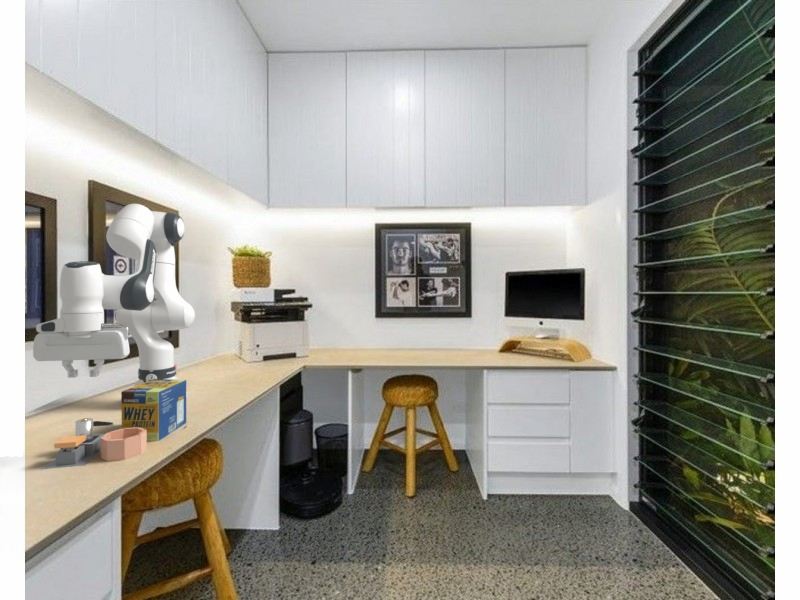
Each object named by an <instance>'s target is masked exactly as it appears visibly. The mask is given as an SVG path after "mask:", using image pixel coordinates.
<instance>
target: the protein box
mask: <svg viewBox="0 0 800 600" xmlns="http://www.w3.org/2000/svg"><path fill="white" fill-rule="evenodd" d="M186 392H187V379H179V380H176V379H153V380H150V381H148V382H145V383H142V384H140V385H137V386H135V387H134V386H133V387H130V388H128V389H125V390H122V391H121V395H120V396H121V398H120V399H121V403H120V404H121V429H122V428H134V427H140V428H143V429H146V430H147V442H159V441H161V440H162V439H164V438H166V437H167V436H168V435H171V433H173V432H175V431H176V430H177V429H179V428H180V427H182V426H183V425H185V424H186V423H187V399H186ZM186 428H187V425H185V426H184V427H183V429H182V430H184V429H186Z"/></svg>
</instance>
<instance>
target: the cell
mask: <svg viewBox="0 0 800 600" xmlns="http://www.w3.org/2000/svg"><path fill="white" fill-rule="evenodd" d="M93 422H94V418H91V417H90V418H89V417H88V418H87V417H85V418H80V419H78V420H76V421H75V436H84V435H86V440H85V441H84V442H82V443H89V442H92V441H93V434H94V426H93Z"/></svg>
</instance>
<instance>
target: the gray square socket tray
mask: <svg viewBox="0 0 800 600" xmlns="http://www.w3.org/2000/svg"><path fill="white" fill-rule="evenodd" d="M105 434H106V433H93V441H92V442H89V443H81V444H79V445H78V446H77V447H75V450H74V451H66V448H60V450H59V451H57V452H56V453H55V458H54V459H52V461H50V462H49V463H47V464H45V465H44V466H43V467H41V468H40V470H47V469H58V468H70V467H82V466H84V467H85V466H86V465H88V464H89V463H90V462H91V461H92V460H94V459H95V458H96V457H97V456H98V455H101V445H100V438H101V437H102V436H104V435H105Z"/></svg>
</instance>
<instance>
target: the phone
mask: <svg viewBox="0 0 800 600" xmlns="http://www.w3.org/2000/svg"><path fill="white" fill-rule="evenodd" d="M105 426H106V427H107V426H114V422H112V421H101V420H93V427H105Z"/></svg>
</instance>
